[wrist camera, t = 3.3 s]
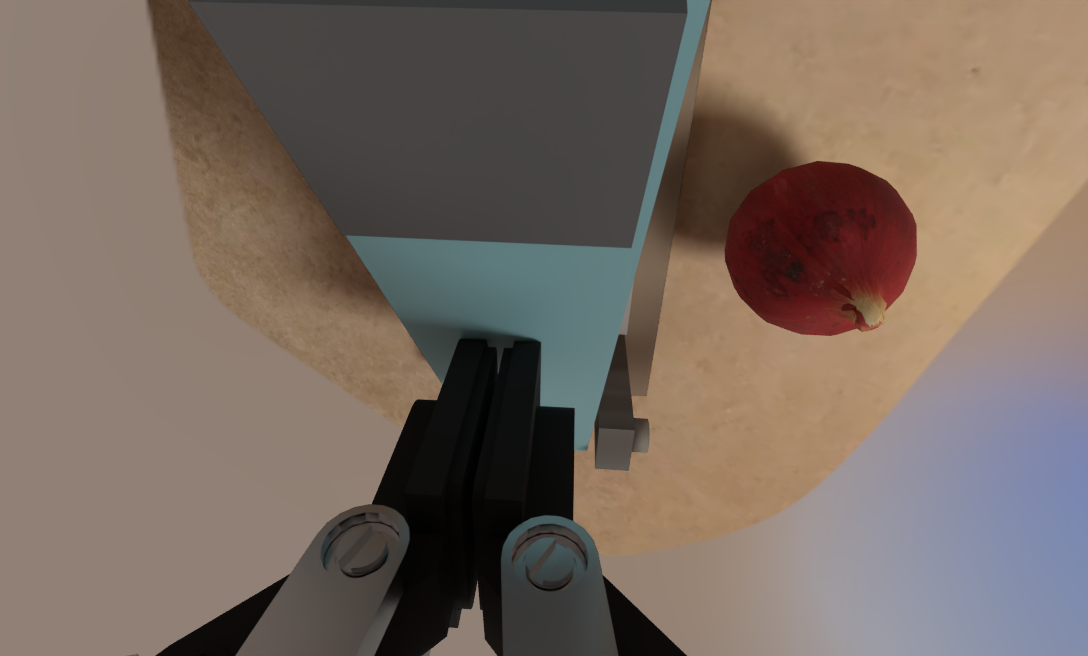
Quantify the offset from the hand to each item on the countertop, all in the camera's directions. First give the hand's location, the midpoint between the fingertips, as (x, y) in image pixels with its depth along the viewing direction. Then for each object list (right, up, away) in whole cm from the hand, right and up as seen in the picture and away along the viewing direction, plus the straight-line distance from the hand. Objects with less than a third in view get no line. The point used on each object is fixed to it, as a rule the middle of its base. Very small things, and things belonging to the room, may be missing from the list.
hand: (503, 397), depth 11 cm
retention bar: (0, +1, +1) cm, 2 cm away
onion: (+11, +6, +10) cm, 16 cm away
